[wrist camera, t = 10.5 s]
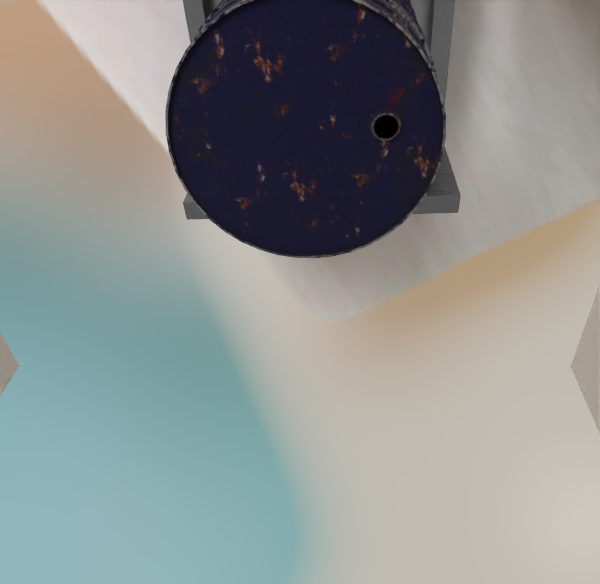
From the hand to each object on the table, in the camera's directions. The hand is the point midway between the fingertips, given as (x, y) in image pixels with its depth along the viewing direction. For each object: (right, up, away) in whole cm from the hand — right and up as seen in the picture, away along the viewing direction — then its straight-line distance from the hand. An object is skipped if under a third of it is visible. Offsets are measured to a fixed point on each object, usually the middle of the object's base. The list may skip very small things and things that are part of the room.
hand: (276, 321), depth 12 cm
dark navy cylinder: (+2, +15, +19) cm, 24 cm away
